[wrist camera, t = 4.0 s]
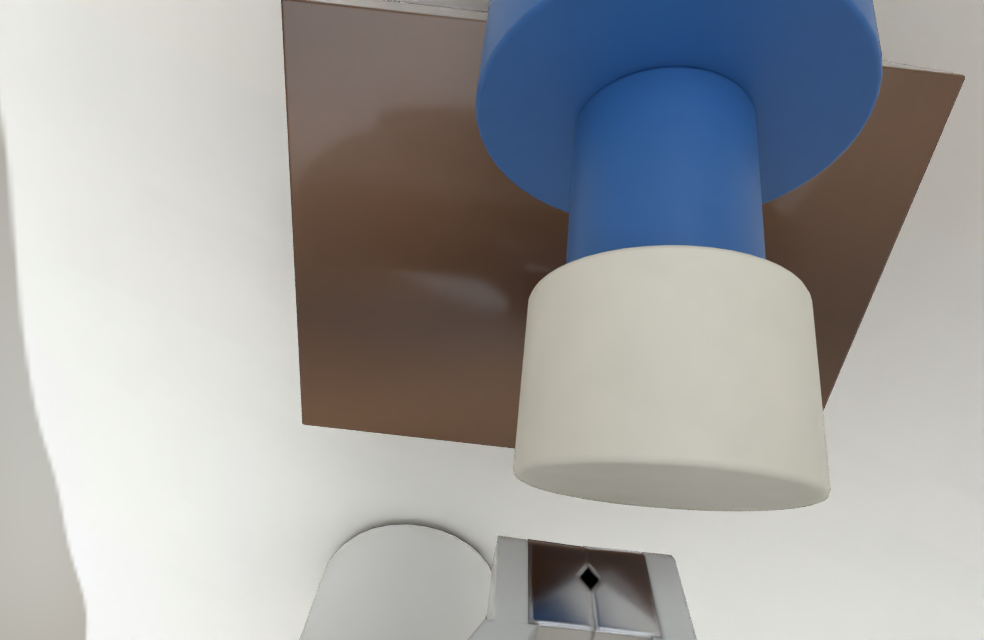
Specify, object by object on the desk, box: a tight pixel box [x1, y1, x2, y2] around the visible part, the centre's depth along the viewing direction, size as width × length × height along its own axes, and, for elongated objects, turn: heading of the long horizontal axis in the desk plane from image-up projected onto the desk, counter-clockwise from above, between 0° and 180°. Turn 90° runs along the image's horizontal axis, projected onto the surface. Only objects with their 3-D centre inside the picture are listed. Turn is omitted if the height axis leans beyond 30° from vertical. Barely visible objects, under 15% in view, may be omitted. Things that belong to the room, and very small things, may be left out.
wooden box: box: [281, 0, 965, 448], centre depth 17 cm, size 10×13×6 cm
